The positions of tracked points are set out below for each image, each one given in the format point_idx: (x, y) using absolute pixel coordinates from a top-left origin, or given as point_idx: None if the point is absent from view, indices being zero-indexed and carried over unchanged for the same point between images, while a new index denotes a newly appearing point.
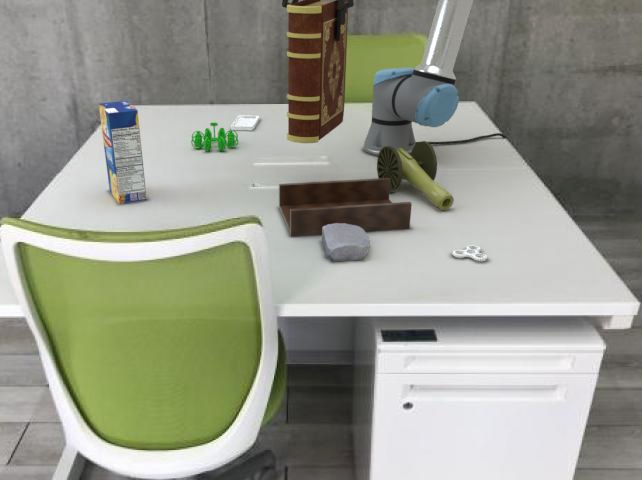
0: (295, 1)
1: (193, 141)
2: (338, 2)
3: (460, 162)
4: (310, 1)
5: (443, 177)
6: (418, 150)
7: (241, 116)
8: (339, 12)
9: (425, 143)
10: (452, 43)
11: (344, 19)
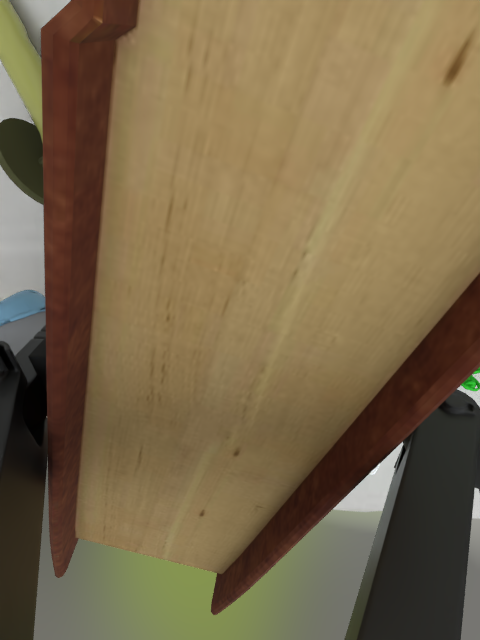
0: (439, 448)
1: (473, 377)
2: (9, 408)
3: (29, 283)
4: (270, 536)
5: (37, 207)
6: (42, 185)
7: (370, 472)
8: (44, 348)
9: (10, 167)
10: None
11: (43, 331)
